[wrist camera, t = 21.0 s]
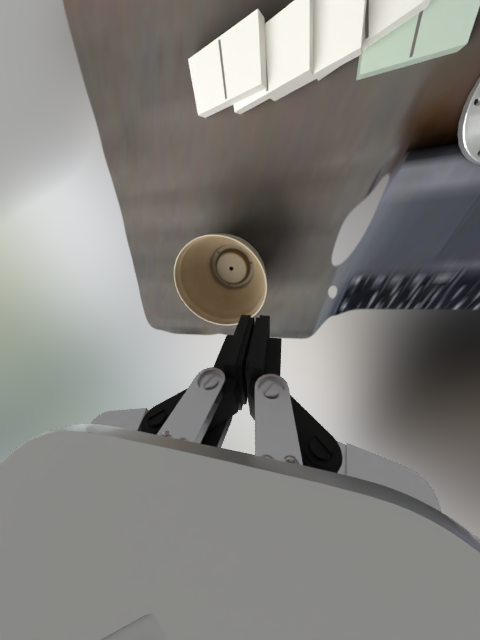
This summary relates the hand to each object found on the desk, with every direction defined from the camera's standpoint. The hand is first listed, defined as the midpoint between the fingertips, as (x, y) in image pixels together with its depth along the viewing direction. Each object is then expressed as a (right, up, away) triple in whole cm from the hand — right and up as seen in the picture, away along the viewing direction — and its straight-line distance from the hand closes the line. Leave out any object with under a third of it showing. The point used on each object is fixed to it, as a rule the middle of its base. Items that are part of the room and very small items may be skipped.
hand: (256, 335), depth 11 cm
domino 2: (-2, +32, +13) cm, 35 cm away
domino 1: (-7, +33, +14) cm, 37 cm away
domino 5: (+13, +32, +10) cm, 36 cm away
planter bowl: (-2, +13, +28) cm, 31 cm away
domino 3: (+3, +32, +12) cm, 35 cm away
